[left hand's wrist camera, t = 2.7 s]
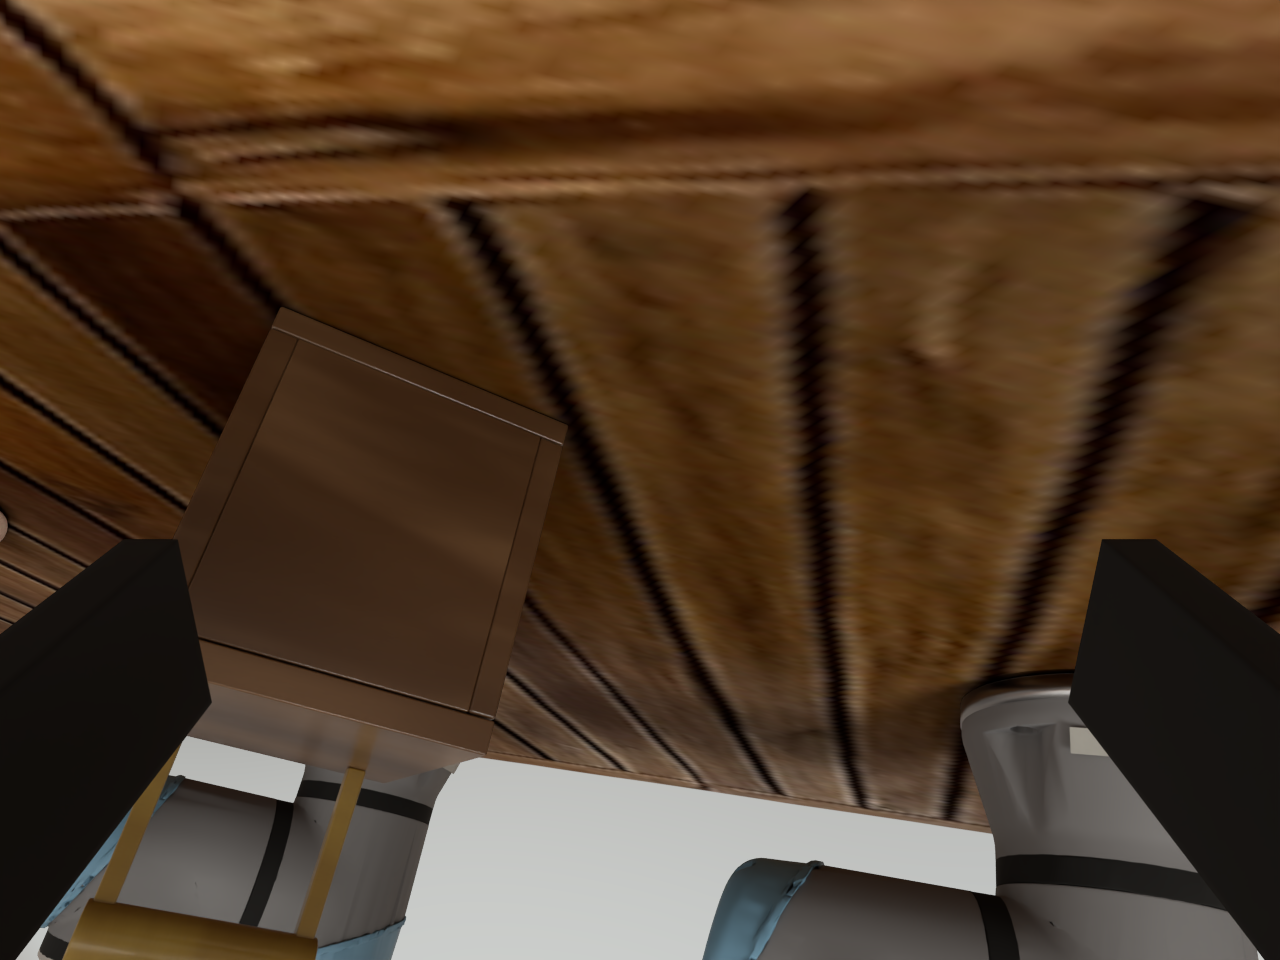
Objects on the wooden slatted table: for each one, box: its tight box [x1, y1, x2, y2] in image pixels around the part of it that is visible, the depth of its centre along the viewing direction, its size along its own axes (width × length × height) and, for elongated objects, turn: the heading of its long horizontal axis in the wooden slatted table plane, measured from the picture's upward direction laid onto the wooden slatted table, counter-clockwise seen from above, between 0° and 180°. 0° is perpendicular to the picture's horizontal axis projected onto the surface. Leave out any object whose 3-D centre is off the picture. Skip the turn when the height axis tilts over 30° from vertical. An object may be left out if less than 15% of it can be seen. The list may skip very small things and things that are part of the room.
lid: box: [62, 639, 494, 960], centre depth 29 cm, size 14×10×9 cm
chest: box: [173, 307, 568, 720], centre depth 33 cm, size 13×10×11 cm
